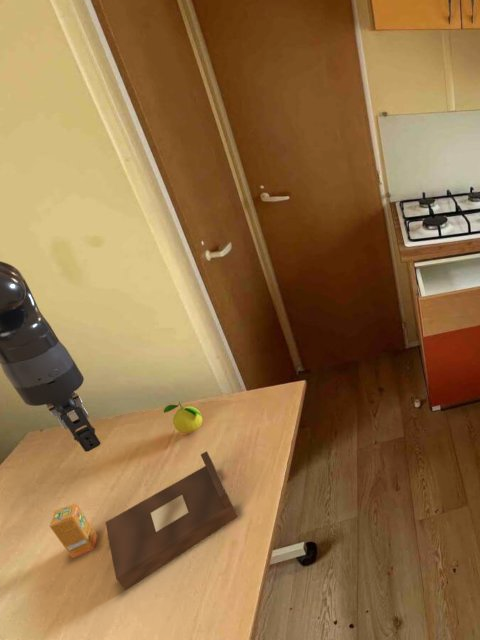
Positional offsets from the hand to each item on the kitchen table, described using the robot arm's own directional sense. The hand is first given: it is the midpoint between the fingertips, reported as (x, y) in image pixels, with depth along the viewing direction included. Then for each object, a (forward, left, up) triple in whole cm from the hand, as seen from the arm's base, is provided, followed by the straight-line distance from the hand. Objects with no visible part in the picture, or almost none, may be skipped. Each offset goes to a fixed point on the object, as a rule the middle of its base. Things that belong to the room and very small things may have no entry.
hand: (85, 436), depth 79 cm
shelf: (+6, -12, -21) cm, 25 cm away
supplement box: (-7, -4, -21) cm, 22 cm away
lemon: (+14, +13, -21) cm, 28 cm away
